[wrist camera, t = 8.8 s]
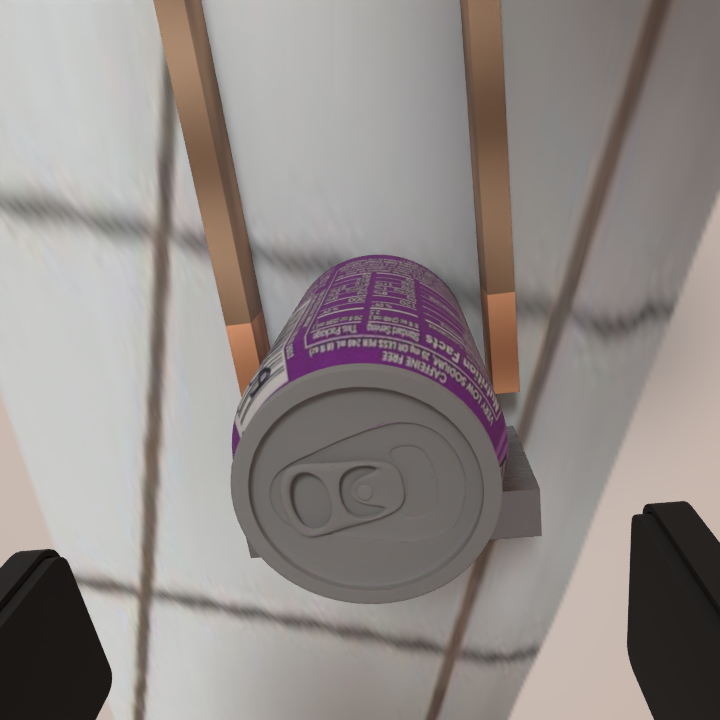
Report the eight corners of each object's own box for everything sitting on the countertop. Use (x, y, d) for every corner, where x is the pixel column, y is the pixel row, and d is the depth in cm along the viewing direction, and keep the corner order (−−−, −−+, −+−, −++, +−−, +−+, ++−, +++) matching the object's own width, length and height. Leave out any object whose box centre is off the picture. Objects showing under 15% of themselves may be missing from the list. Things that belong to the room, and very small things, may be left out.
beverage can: (314, 424, 26) (252, 633, 15) (278, 268, 24) (170, 375, 12) (474, 400, 25) (538, 603, 14) (452, 236, 23) (507, 321, 12)
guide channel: (162, -50, 20) (90, -111, 15) (483, -110, 19) (512, -196, 14) (276, 487, 27) (251, 557, 22) (515, 466, 26) (541, 535, 21)
